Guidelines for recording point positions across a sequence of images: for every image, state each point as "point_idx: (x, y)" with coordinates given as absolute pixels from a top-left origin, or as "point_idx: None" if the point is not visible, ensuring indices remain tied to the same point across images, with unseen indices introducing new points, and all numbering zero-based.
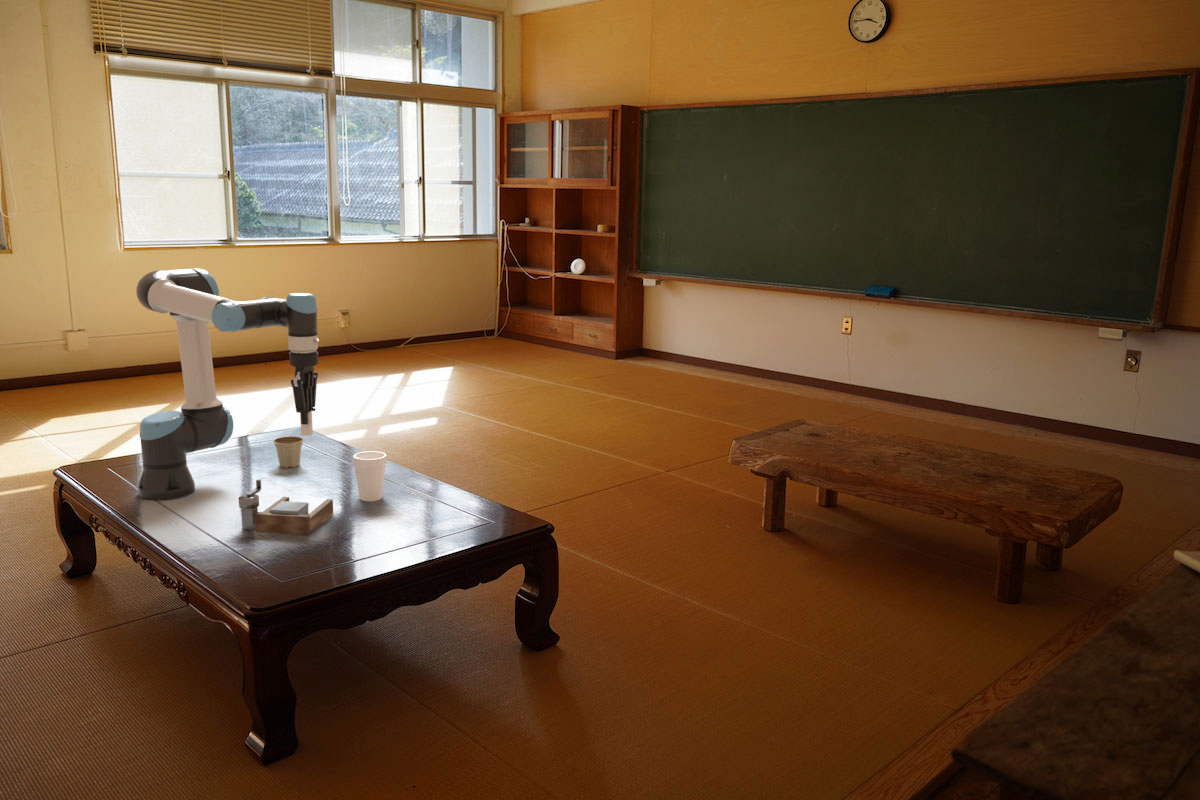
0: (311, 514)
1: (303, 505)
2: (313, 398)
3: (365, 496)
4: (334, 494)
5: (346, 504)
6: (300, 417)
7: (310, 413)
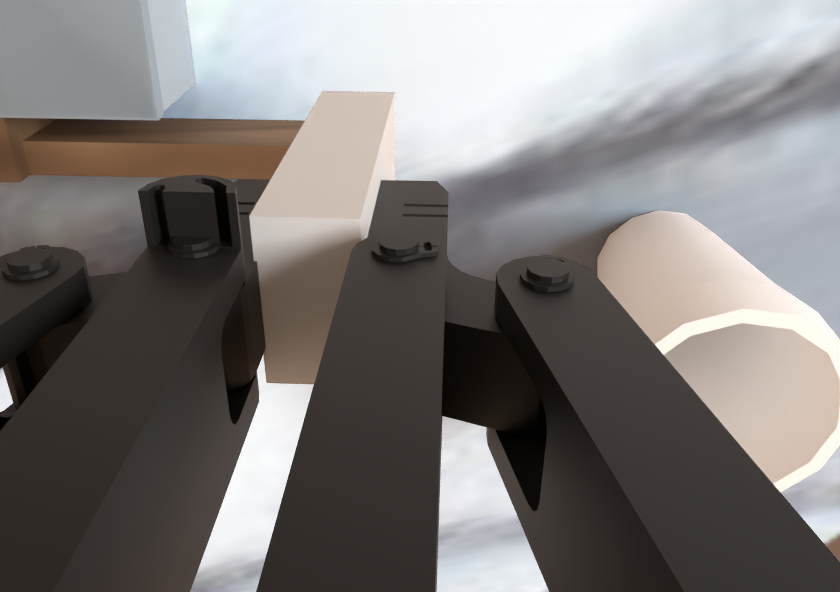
0: (92, 159)
1: (97, 111)
2: (531, 540)
3: (599, 268)
4: (725, 38)
5: (536, 174)
6: (269, 181)
7: (306, 371)
